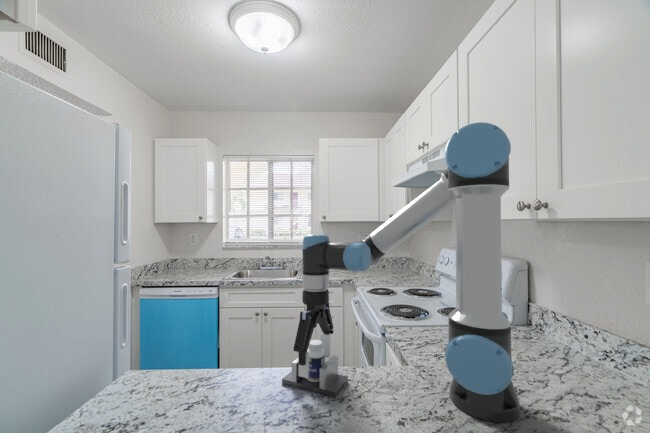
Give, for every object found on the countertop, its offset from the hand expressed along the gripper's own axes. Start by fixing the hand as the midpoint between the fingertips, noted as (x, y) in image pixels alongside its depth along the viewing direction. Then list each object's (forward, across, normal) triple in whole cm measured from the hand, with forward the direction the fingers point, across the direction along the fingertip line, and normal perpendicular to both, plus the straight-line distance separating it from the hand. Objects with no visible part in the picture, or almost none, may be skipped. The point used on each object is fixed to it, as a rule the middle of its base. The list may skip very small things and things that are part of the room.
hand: (315, 365), depth 81 cm
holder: (+5, 0, 0) cm, 5 cm away
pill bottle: (+3, 0, 0) cm, 3 cm away
